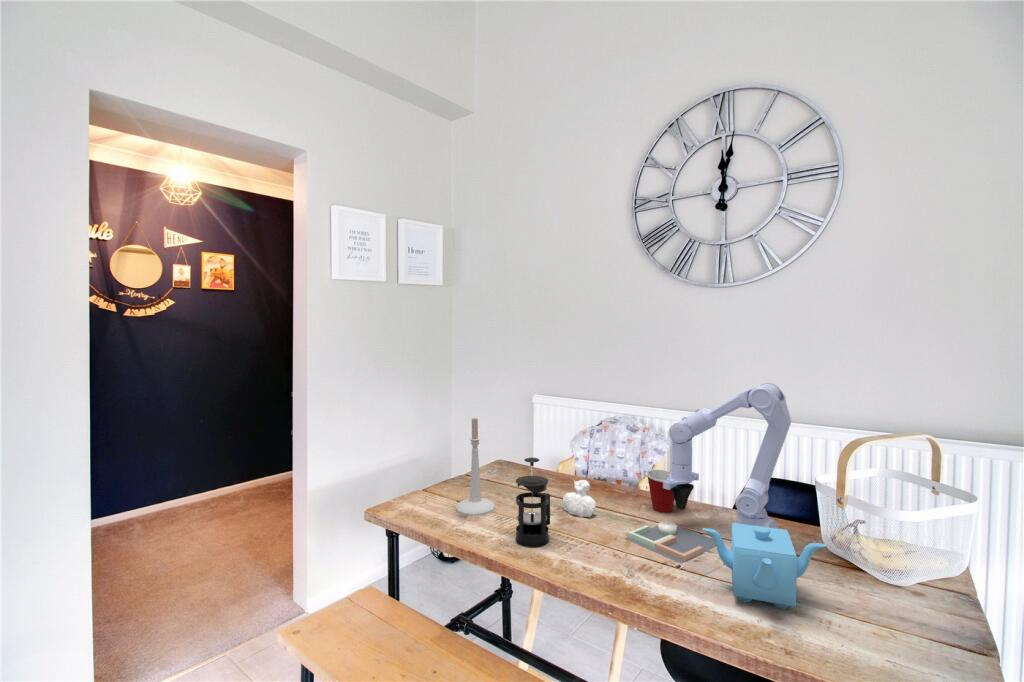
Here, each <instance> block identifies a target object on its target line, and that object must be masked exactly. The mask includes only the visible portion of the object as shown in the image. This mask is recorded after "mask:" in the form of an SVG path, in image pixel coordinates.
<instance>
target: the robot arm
mask: <svg viewBox="0 0 1024 682" xmlns="http://www.w3.org/2000/svg"><path fill="white" fill-rule="evenodd" d="M740 408H744V409H751V408H753V409H754V410H756V412H758V413H759V414H760V415H761V416H762V417H763V418H764V419H765V421H766V422H767V427H766V430H765V434H764V436H763V439H762V441H761V445H760V447H759V450H758V453H757V454H756V455H757V456H756V458H755V462H754V463H753V466H752V469H751V472H750V475H749V478H748V479H747V482H746V484H745V485H744V488H743V491H742V492H741V493H739V494H738V495H737V497H736V498H735V502H734V503H735V508H736V509H737V512H736V513H737V516H736V517H737V518H736V523H737V524H745V525H753V526H761V527H768V528H776V529H779V526H778V525H779V524H778V522H777V521H776V520H775V519H773V518H770V517H769V515H768V512H767V510H766V508H765V506H766V505H767V504H768V502H769V494H768V493H769V492H768V491H769V488H770V482H771V480H772V479H771V478H772V476H773V473H774V470H775V468H776V465H777V462H778V459H779V457H780V455H781V451H782V448H783V446H784V443H785V441H786V438H787V435H788V433H789V429H790V426H791V424H792V418H791V415H790V411H789V408H788V404H787V400H786V395H785V393H784V392H783V391H782V389H781V388H780V387H779V386H778V385H776V384H775V383H772V382H764V383H761V384H760V385H759V386H758V385H757V386H755V387H754V386H753V387H752V388H748V389H746V390H744V391H741V392H737V394H735V395H733V396H731V397H729V398H728V399H727V400H724V401H722V403H719V404H718V405H716V406H715V407H712V408H711V409H709V408H706V407H703V408H701V407H698V408H696V409H695V410H694V413H692V414H690V415H688V416H683V417H682V418H681V420H680V421H677V422H674V423H673V424H672V425H671V426H670V427H669V429H668V436H669V438H670V440H671V454H670V455H671V457H670V458H671V459H670V460H671V467H670V468H671V469H670V471H671V474H669V475H668V477H669V478H668V479H667V480H666V481H663V488H665V489H668V490H670V489H671V491H672V493H673V495H674V499H675V500H674V503H675V506H676V509H679V510H681V511H684V510H686V507H687V504H688V501H689V498H690V495H691V494H692V492H693V490H694V489H695V488H694V487H695V486H694V484H692V482H694V481H699V480H700V479H699V477H700V475H699V474H700V473H697V472H694V471H693V438H694V437H696V436H699V435H701V434H702V433H705V432H706V431H708V430H710V429H712V428H713V427H715V426H716V425H717V421H718V419H720V418H722V417H724V416H726V415H728V414H730V413H732V412H734V411H736V410H738V409H740ZM730 544H731V545H732V541H730Z"/></svg>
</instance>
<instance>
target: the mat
mask: <svg viewBox="0 0 1024 682" xmlns="http://www.w3.org/2000/svg"><path fill="white" fill-rule="evenodd" d="M641 536H643V537H645V538H648V539H650V540H652V541H656V540H658V539H661V538H663V537H665V536H667V535H663V534H661V533H659V532H658V525H655V526H652V527H650V531H648V532H646V533H643V534H641ZM673 536H675V537H676V542H675V543H673V544H671V545H668V546H667V547H669V548H671V549H674V550H676V551H678V552H681V553H686V552H688V551H690V550H692V549H694V548H696V547H698V546H701V547H703V553H705V552H708V551H710V550H711V549H714V548H717V547H716V544H715V541H714V539H713V538H712V537H709V536H706V535H703V534H701V533H698V532H695V531H693V530H689V529H687V528H684V527H681V526H679V525H677V534H676V535H673ZM624 539H625V540H627V541H628V542H631V543H633V544H635V545H637V546H640V547H641V548H645V549H647V550H650V551H652V552H653V553H656V554H657V555H658V554H659V556H660V555H661V556H662V557H664V558H666V559H669V560H672V561H674V562H676V563H679V564H683V563H685V562H684V561H682V560H680V559H677V558H675V557H673V556H670V555H668V554H666V553H663V552H661V551H659V550H657V549H654V548H652V547H650V546H647V545H645V544H643V543H640V542H638V541H636V540H634V539H631V538H629V537H628V536H627V537H625V538H624ZM703 553H701V554H703ZM701 554H699V555H698V556H700V555H701Z"/></svg>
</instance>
